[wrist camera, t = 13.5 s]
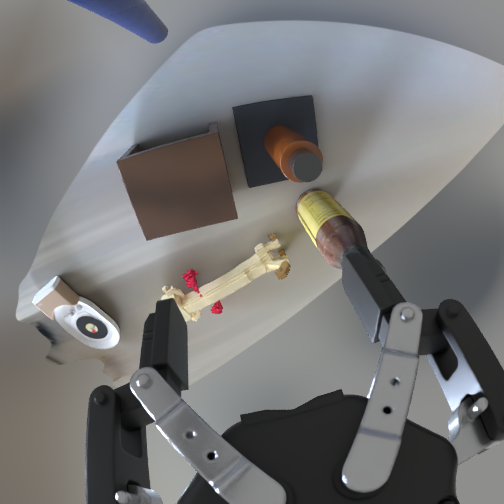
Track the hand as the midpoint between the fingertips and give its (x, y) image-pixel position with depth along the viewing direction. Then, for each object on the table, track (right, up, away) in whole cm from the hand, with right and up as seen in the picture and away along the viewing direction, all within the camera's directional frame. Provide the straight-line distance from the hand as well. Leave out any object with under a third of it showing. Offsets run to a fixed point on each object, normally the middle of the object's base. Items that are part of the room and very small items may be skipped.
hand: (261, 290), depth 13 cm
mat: (+3, +17, +25) cm, 31 cm away
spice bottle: (+3, +17, +25) cm, 30 cm away
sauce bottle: (+9, +10, +32) cm, 34 cm away
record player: (-36, -11, +38) cm, 53 cm away
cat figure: (-7, -2, +37) cm, 38 cm away
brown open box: (-10, +13, +25) cm, 30 cm away
